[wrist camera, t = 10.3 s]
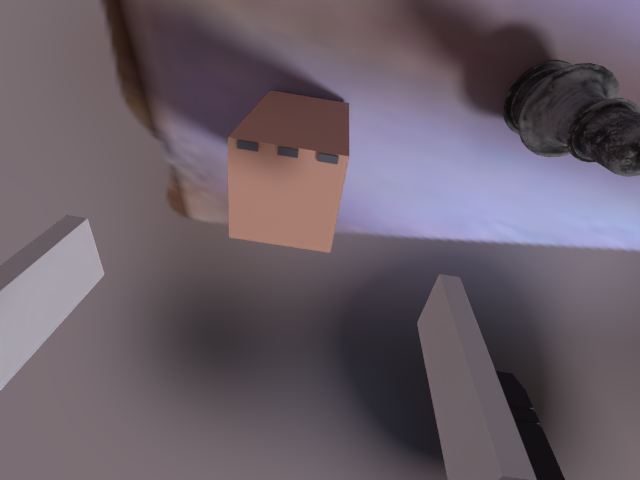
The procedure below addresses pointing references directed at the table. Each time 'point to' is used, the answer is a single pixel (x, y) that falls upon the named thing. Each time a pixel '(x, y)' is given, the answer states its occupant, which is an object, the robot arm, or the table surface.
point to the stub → (288, 171)
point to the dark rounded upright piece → (576, 115)
